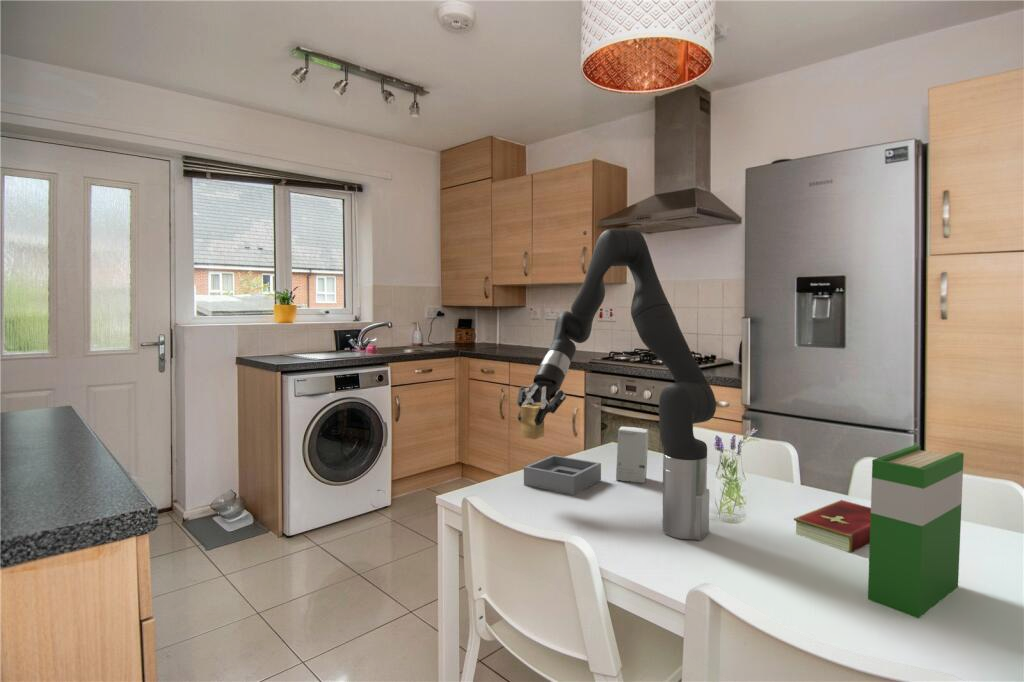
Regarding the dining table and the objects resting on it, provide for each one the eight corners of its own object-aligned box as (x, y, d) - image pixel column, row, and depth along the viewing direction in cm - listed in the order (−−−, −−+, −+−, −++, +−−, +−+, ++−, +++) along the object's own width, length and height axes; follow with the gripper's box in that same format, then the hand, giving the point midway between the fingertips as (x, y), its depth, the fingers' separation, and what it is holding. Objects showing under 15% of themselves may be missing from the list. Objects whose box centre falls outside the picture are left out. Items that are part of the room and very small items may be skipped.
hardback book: (909, 571, 107) (914, 444, 105) (958, 586, 101) (963, 453, 99) (867, 599, 97) (872, 459, 95) (918, 618, 91) (924, 469, 89)
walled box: (600, 480, 164) (601, 463, 164) (573, 495, 151) (574, 476, 150) (553, 471, 173) (553, 455, 173) (523, 484, 160) (523, 467, 160)
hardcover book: (897, 532, 127) (897, 513, 126) (851, 555, 115) (851, 535, 114) (840, 516, 136) (841, 498, 136) (793, 536, 125) (793, 517, 124)
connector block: (544, 436, 149) (544, 405, 148) (535, 439, 145) (535, 408, 145) (529, 433, 151) (529, 404, 151) (520, 437, 148) (520, 406, 147)
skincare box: (615, 480, 163) (616, 429, 162) (619, 475, 169) (619, 425, 168) (645, 483, 160) (646, 431, 160) (648, 477, 166) (648, 427, 165)
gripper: (525, 360, 157) (499, 410, 148) (570, 363, 149) (547, 417, 140) (535, 377, 162) (511, 427, 153) (580, 381, 154) (557, 434, 145)
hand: (528, 422), depth 146 cm, fingers closed on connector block, 4 cm apart
